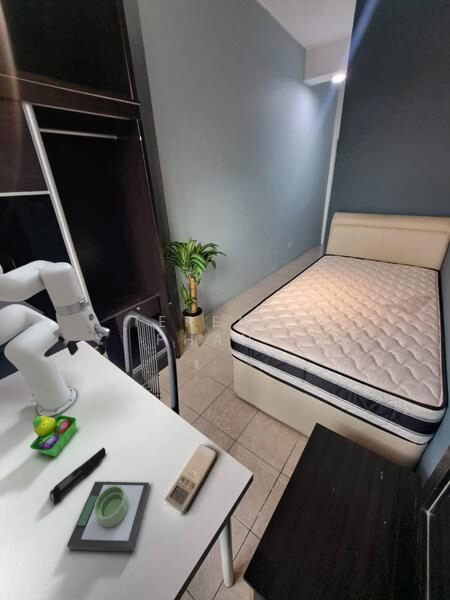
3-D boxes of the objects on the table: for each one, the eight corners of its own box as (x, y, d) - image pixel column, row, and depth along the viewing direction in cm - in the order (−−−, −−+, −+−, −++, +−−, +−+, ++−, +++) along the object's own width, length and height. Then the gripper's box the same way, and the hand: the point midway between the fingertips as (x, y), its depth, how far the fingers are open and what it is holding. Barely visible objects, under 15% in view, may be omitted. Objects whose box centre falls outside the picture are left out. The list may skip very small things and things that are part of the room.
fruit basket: (55, 462, 75) (40, 439, 69) (32, 455, 77) (15, 433, 71) (82, 427, 84) (70, 405, 79) (61, 422, 86) (48, 401, 81)
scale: (70, 549, 57) (65, 544, 56) (97, 485, 69) (94, 480, 67) (133, 551, 56) (130, 546, 55) (150, 486, 68) (148, 481, 66)
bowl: (94, 528, 58) (88, 519, 56) (107, 493, 64) (102, 484, 62) (122, 528, 58) (117, 520, 56) (133, 494, 64) (128, 485, 62)
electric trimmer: (110, 457, 75) (107, 451, 74) (55, 506, 65) (50, 500, 63) (104, 450, 77) (101, 443, 76) (49, 495, 67) (45, 489, 65)
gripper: (106, 299, 73) (120, 344, 81) (50, 300, 74) (70, 345, 82) (93, 312, 67) (110, 360, 75) (32, 313, 67) (56, 360, 76)
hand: (89, 352), depth 79 cm, fingers open, 9 cm apart
